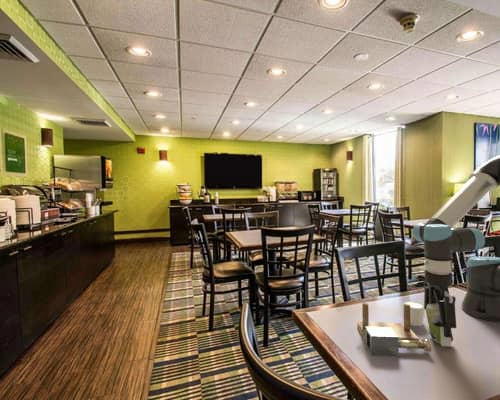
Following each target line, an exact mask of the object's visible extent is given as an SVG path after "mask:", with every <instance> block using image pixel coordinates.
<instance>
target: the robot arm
mask: <svg viewBox="0 0 500 400" xmlns="http://www.w3.org/2000/svg"><path fill="white" fill-rule="evenodd" d="M499 186H500V154H499V155H497V156H494V157H492V158H490V159H488V160H486V161H485V162H484V163H482V164H481V165H480V166H478V167H477V168H476V169H475V170H473V172H471V174H469V176H468V181H466V182H465V184H463V186H461V188H459V190H457V191H456V193H455V194H453V196H451V198H449V200H447V201H446V202H445V203H444V204H443V206H441V207H440V208H439V210H437V211H436V212H435V213H434V214H433V215H432V216H431V217H430V218H429V219H428V221H426V222H420V223H419V222H418V223H416V224H415V225H414V226H413V228H412V232H411V233H412V236H413V238H414V239H415V240H416V241H417V242H419V243H423V251H424V253H423V255H424V261H423V264H424V269H425V270H424V281H425V282H423V288H424V296H423V299H424V301H423V305H424V311H426V307H427V305H428V304H430V303H431V304H433V303H437V304H438V306H439V311H440V316H441V321H442V325H440V336H441V343H440V345H441V347H452V342H451V331H452V329H457V316H456V296H451V294H450V291H449V287H451V286H452V285H453V273H452V272H453V253H459V252H462V253H463V252H473V251H477V250H480V249H482V248H483V247H484V246H485V244H486V237H485V235H484V234H483V232H482V231H481V230H480V229H477V228H474V227H465V228H459V227H455V226H456V225H457V224H458V223H459V222H460V221H461V220H462V219H463V218H464V217H465V216H466V215H467V213H469V212H470V211H471V210H472V209H473V208H474V206H476V205H477V204H478V203H479V202H480V201H481V200H482V199H483V198H484V196H486V194H487V193H488V192H492V191H495V190H496V189H497V188H498V187H499ZM466 261H467V264H466V293H465V294H464V298H463V299H462V300H463V301H462V302H461V309H462V311H463V312H465V313H466V314H468V315H469V316H472V317H476V318H479V319H482V320H485V321H491V322H497V321H500V257H497V256H471V257H469V258H468V259H467V260H466ZM428 334H429V335H431V334H430V329H429V328H428Z"/></svg>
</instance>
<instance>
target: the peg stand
mask: <svg viewBox="0 0 500 400" xmlns="http://www.w3.org/2000/svg"><path fill="white" fill-rule="evenodd" d="M361 305H362V317H361V318H362V321H357V325H356V326H357V329H358V331H359V332H360V335H361V336H362V338H363V340H364V341H365V342H366V339H365V326H372V327H391V328H392V330H393V331H394V332H395V333H396V335H397V336H398V340H405V341H420V337H418V336H417V335H416V333H414V331H413V330H412V329H411V325H410V305H409V304H404V303H403V322H383V321H382V322H379V321H377V322H375V321H369V316H370V315H369V303H367V302H362V303H361Z"/></svg>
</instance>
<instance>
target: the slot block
mask: <svg viewBox="0 0 500 400" xmlns="http://www.w3.org/2000/svg"><path fill="white" fill-rule="evenodd" d="M365 339H366V341H365V346H366V348H367V350H368V351H369V354H370V355H371V356H377V357H395V358H396V357H400V355H399V352H400V351H399V349H400V348H398V336H397V335H396V333H395V332H394V331H393V330H392V328H391V327H372V326H365Z"/></svg>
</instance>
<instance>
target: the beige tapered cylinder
mask: <svg viewBox="0 0 500 400" xmlns="http://www.w3.org/2000/svg"><path fill="white" fill-rule="evenodd" d="M404 304H409V305H410V326H414V327H422V326H423V325H424V316H425V309H424V304H423V303H420V302H417V301H412V300H411V301H409V300H407V301H404V302H403V305H404Z"/></svg>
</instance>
